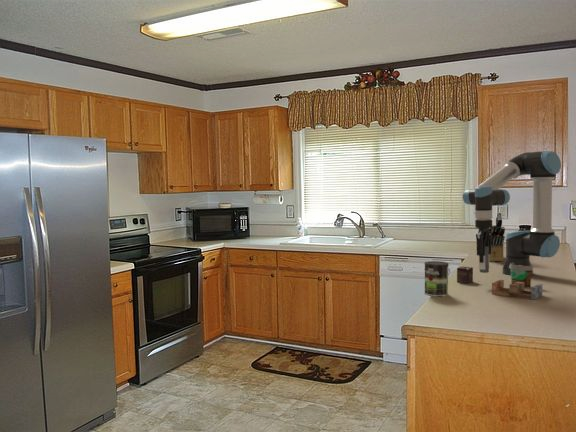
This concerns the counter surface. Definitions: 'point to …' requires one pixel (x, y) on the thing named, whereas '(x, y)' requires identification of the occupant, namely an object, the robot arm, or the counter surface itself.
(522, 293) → the socket block
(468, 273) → the box
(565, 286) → the counter surface
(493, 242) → the knife block
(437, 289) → the coffee can
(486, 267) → the plug
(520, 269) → the food container
